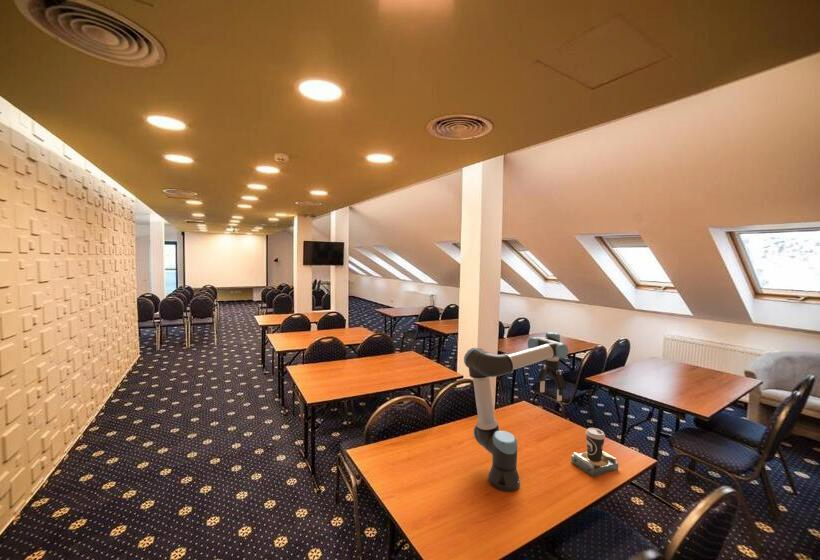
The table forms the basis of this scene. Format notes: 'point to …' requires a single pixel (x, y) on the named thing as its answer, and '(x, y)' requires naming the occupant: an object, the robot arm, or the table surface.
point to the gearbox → (595, 464)
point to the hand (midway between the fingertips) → (550, 396)
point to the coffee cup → (595, 443)
